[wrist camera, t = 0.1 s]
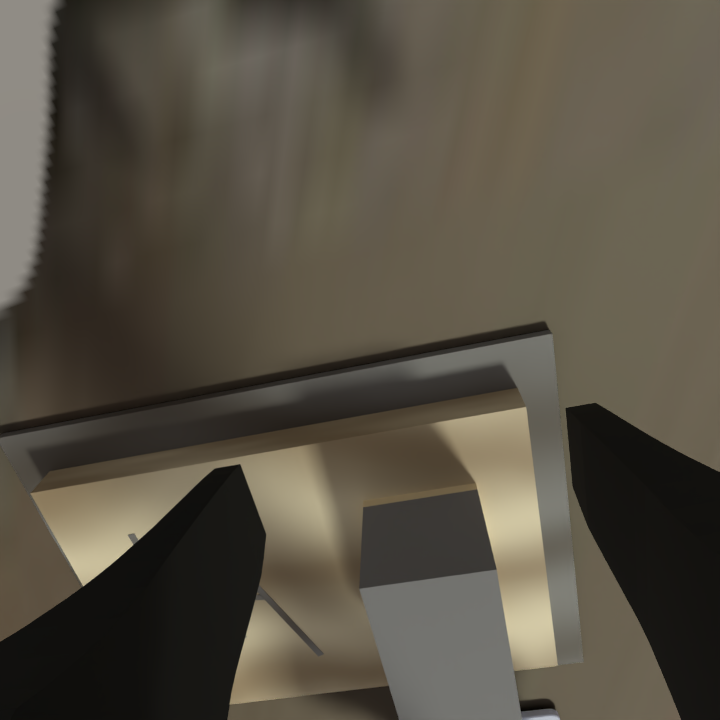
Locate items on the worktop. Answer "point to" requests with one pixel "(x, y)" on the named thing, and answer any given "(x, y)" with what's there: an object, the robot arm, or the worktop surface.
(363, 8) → the worktop surface
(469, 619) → the block
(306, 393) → the pine board
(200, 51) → the worktop surface
